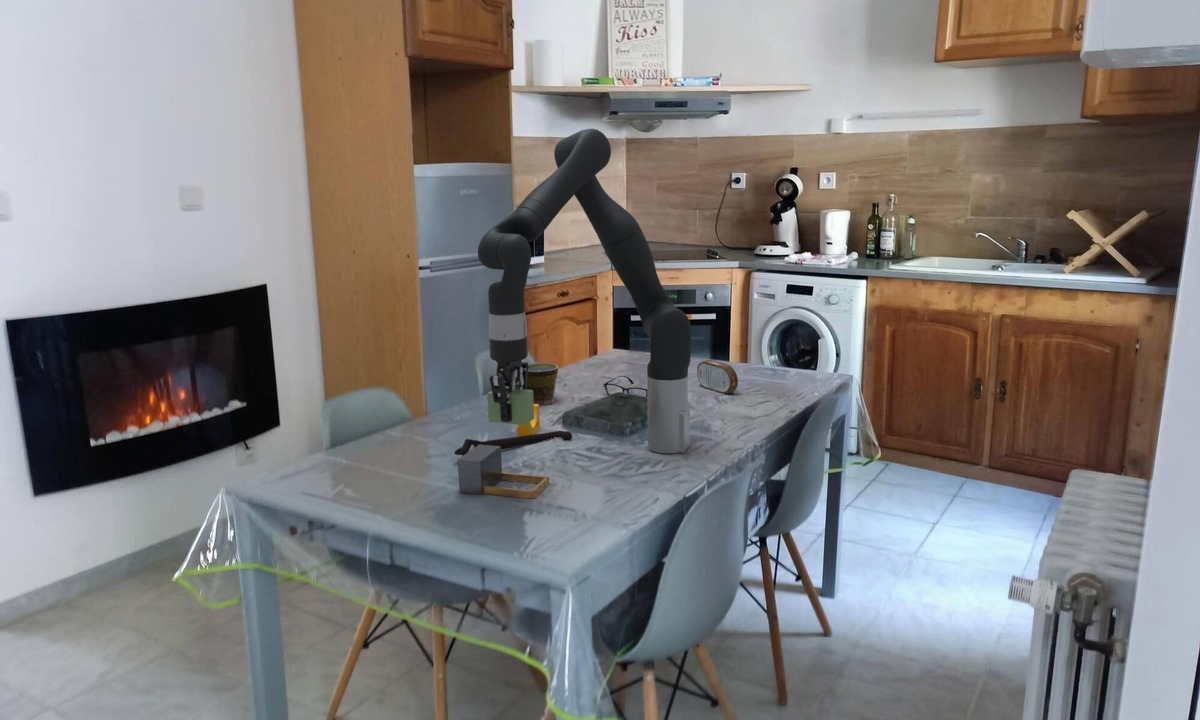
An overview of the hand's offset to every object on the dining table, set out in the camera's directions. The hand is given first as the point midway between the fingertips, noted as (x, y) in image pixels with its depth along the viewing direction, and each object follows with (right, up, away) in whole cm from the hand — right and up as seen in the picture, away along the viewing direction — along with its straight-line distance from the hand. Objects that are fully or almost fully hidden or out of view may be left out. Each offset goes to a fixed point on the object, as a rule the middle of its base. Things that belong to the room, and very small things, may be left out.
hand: (511, 417), depth 178 cm
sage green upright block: (0, -1, 0) cm, 1 cm away
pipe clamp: (0, -7, +38) cm, 39 cm away
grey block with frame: (-2, -15, +4) cm, 15 cm away
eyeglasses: (+29, +2, +75) cm, 81 cm away
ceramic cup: (0, 0, +67) cm, 67 cm away
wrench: (-2, -10, +27) cm, 29 cm away
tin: (+51, +3, +75) cm, 91 cm away
